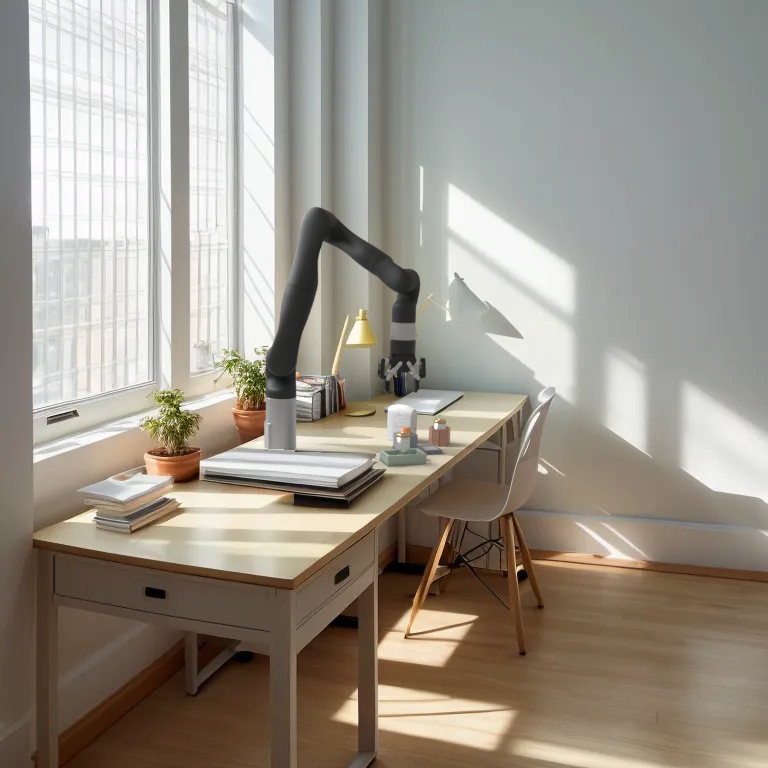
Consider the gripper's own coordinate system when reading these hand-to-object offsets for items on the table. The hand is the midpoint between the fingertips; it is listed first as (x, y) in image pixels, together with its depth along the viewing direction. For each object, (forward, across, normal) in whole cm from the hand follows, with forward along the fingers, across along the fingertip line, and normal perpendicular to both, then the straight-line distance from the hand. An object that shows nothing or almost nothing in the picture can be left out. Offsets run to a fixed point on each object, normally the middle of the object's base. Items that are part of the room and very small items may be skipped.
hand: (401, 392), depth 260 cm
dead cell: (+20, -20, -17) cm, 33 cm away
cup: (+20, -20, -17) cm, 33 cm away
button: (+18, -6, -10) cm, 21 cm away
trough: (+21, -1, +1) cm, 21 cm away
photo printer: (+21, -10, -24) cm, 34 cm away
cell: (+20, -1, +1) cm, 20 cm away
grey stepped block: (+21, -9, -9) cm, 24 cm away
